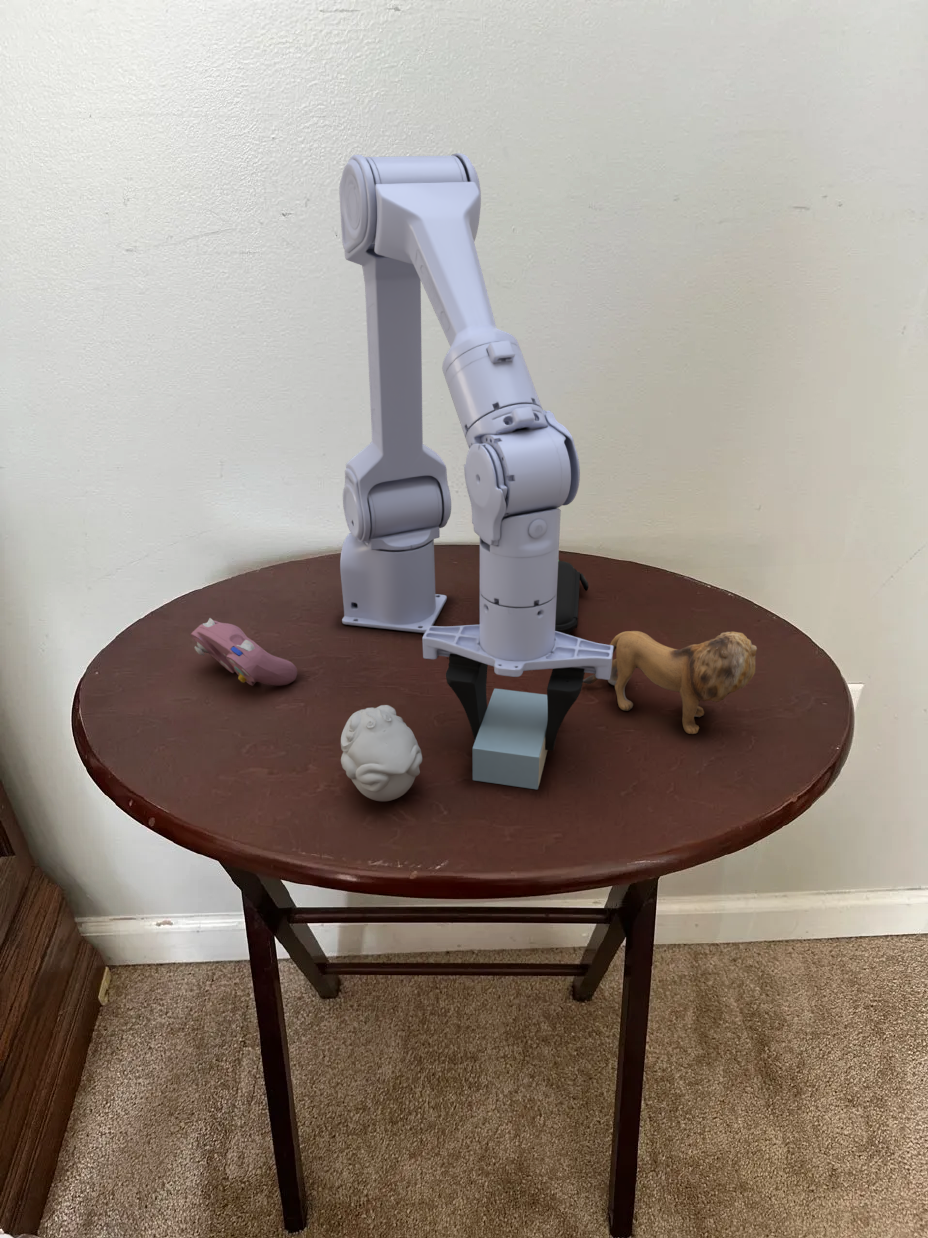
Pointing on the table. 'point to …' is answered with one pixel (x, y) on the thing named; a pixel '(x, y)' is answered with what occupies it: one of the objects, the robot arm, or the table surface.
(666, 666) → the lion figurine
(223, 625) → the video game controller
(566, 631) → the carrying case
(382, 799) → the frog figurine
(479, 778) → the pale blue rectangular box
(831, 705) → the table surface
